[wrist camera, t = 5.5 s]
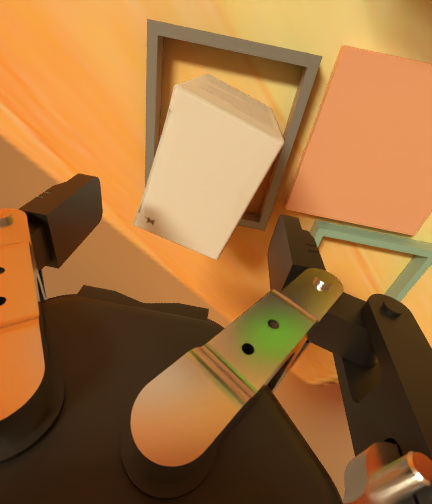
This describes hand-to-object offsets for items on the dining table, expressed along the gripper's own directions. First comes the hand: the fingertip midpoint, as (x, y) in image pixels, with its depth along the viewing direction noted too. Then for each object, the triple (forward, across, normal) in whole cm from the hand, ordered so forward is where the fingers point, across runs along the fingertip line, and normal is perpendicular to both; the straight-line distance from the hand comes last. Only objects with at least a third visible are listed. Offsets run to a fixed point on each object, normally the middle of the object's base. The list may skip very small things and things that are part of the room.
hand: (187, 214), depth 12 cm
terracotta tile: (+13, -13, -2) cm, 19 cm away
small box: (+13, 0, 0) cm, 13 cm away
